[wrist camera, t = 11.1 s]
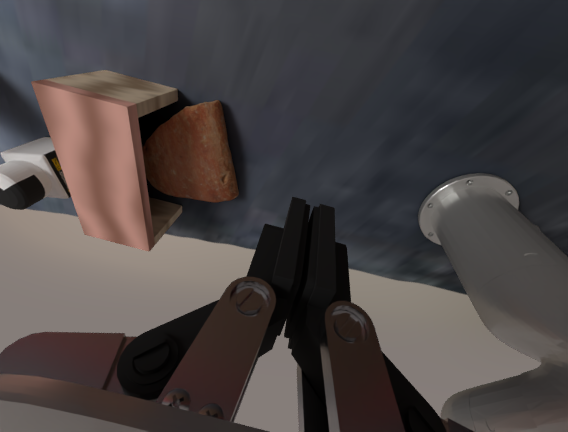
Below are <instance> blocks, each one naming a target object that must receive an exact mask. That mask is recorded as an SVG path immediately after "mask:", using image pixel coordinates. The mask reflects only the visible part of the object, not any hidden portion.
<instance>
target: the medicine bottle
mask: <svg viewBox="0 0 568 432" xmlns="http://www.w3.org/2000/svg"><path fill="white" fill-rule="evenodd" d="M1 156H2V157H3V159H4V160H5V162H6V163H4V164H2V165H0V204H2V205H4V206H6V207H9V208H12V209H20V210H22V209H26V208H27V207H29V206H31V205H33V204H34V203H36V202H38V201H40V200H41V199H43V198H45V197H54V198H65V199H66V198H69V197H71V194H70V191H69V188H68V185H67V183H66V180H65V177H64V174H63V171H62V168H61V165H60V163H59V160H58V157H57V154H56V151H55V148H54V145H53V143H52V140H51V137H43V138H40V139H37V140H34V141H31V142H29V143H26V144H23V145H20V146H17V147H15V148H12V149H9V150H6V151H3V152H1Z"/></svg>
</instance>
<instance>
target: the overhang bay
mask: <svg viewBox="0 0 568 432" xmlns="http://www.w3.org/2000/svg"><path fill="white" fill-rule="evenodd" d="M31 83H32V86H33V88H34V91H35V94H36V97H37V100H38V103H39V105H40V108H41V111H42V114H43V117H44V120H45V123H46V125H47V128H48V131H49V134H50V137H51V140H52V143H53V145H54V148H55V151H56V154H57V157H58V160H59V163H60V165H61V168H62V171H63V174H64V177H65V180H66V183H67V185H68V188H69V191H70V194H71V197H72V200H73V202H74V205H75V208H76V211H77V214H78V217H79V220H80V222H81V225H82V228H83V231H84V234H85V235H88V236H92V237H96V238H100V239H104V240H107V241H111V242H115V243H119V244H123V245H126V246H130V247H134V248H138V249H142V250H145V251H150V250H151V249H152V248H153V247H154V245H155V244H156V243H157V242H158V241H159V239H160V238H161V237H162V236H163V235H164V233H165V232H166V231H167V230H168V229H169V227H170V226H171V225H172V224H173V223H174V222H175V220H176V219H177V218H178V217H179V216H180V214H181V213H182V205H178V204H174V203H170V202H166V201H163V200H159V199H155V198H151V197H149V196H148V189H147V181H146V174H145V166H144V159H143V151H142V143H141V136H140V128H139V121H138V118H139V117H142V116H144V115H146V114H149V113H151V112H153V111H156V110H158V109H160V108H162V107H165V106H167V105H169V104H172V103H174V102H176V101H178V89H175V88H171V87H168V86H164V85H160V84H156V83H153V82H149V81H145V80H141V79H137V78H134V77H130V76H126V75H122V74H118V73H115V72H111V71H107V70H103V71H96V72H90V73H83V74H77V75H70V76H64V77H58V78H51V79H45V80H38V81H32V82H31Z"/></svg>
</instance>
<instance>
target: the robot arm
mask: <svg viewBox="0 0 568 432" xmlns="http://www.w3.org/2000/svg"><path fill="white" fill-rule="evenodd" d="M518 207H519V196H518V194H517V192H516V190H515V189H514V187H513V186H512V185H511V184H510V183H508V182H507V181H506V180H504V179H502V178H500V177H498V176H495V175H491V174H483V173H476V174H467V175H463V176H459V177H456V178H454V179H451V180H449V181H447V182H445V183H443V184H441V185H440V186H438V187H437V188H436V189H434V190H433V191H432V192H431V193H430V194H429V195H428V196H427V197H426V199H425V200H424V201H423V203H422V205H421V207H420V209H419V214H418V222H419V226H420V228H421V230H422V232H423V234H424V235H425V236H426V237H427V238H428V239H429V240H431V241H432V242H434V243H436V244H439V245H442V247H443V249H444V251H445V252H446V254H447V256H448V258H449V260H450V262H451V264H452V266H453V268H454V269H455V271H456V273H457V275H458V277H459V279H460V281H461V283H462V285H463V287H464V288H465V290H466V292H467V294H468V296H469V298H470V300H471V302H472V304H473V306H474V307H475V309H476V311H477V313H478V315H479V317H480V319H481V320H482V322H483V323H484V325H485V326H486V327H487V329H488V330H489V331H490V332H491V333H492V334H493V335H494V336H495V337H496V338H498V339H499V340H500V341H502V342H503V343H505V344H506V345H508V346H509V347H511V348H513V349H515V350H517V351H519V352H521V353H523V354H525V355H527V356H529V357H531V358H533V359H535V360H537V361H539V362H541V365H540V366H539V367H538V368H536V369H534V370H531V371H527V372H524V373H522V374H521V375H518V376H514V377H510V378H506V379H503V380H499V381H495V382H492V383H488V384H484V385H480V386H477V387H473V388H470V389H466V390H463V391H461V392H458V393H456V394H454V395H452V396H451V397H450V398H448V400H447V401H446V402H445V403H444V405H443V407H442V410H441V418H440V417H439V416H438V414H437V413H436V412H435V410H434V409H433V408H432V407H431V406H430V405H429V403H428V402H427V401H426V400H425V399H424V398H423V397H422V396H421V394H420V393H419V392H418V391H417V390H416V389H415V388H414V387H413V386H412V384H411V383H410V382H409V381H408V380H407V379H406V378H405V377H404V376H403V374H402V373H401V372H400V371H399V370H398V369H397V368H396V367H395V365H394V364H393V363H392V362H391V361H390V360H389V359H388V358H387V357H386V356H385V354H384V353H383V352H382V351H381V348H380V344H379V341H378V337H377V334H376V331H375V327H374V325H373V322H372V320H371V319H370V317H369V316H368V314H367V313H366V312H365V311H364V310H363V309H362V308H360V307H359V306H357V305H355V304H354V303H351V296H350V283H349V269H348V256H347V247H346V245H344V244H341V243H337V242H335V209H334V208H333V207H330V206H326V205H322V204H320V206H319V207H315V206H314V208H313V211H312V213H311V216H310V219H309V212H310V205H308V204H306V200H303V199H299V198H295V197H292V200H291V204H290V207H289V211H288V215H287V218H286V222H285V226H284V228H280V227H276V226H272V225H268V224H265V225H264V228H263V231H262V234H261V236H260V239H259V242H258V245H257V248H256V251H255V254H254V257H253V259H252V262H251V265H250V269H249V271H248V274H247V277H242V278H239V279H236V280H235V281H233V282H231V284H230V285H229V286H228V287H227V288H226V290H225V292H224V293H223V295H222V296H221V298H220V299H219V300H217V301H215V302H212V303H210V304H208V305H206V306H203V307H201V308H199V309H197V310H195V311H192V312H190V313H188V314H185V315H183V316H181V317H179V318H177V319H174V320H172V321H170V322H167V323H165V324H163V325H160V326H158V327H156V328H154V329H151V330H149V331H147V332H145V333H143V334H141V335H140V336H138V337H126V336H125V334H124V333H79V332H77V333H76V332H42V333H34V334H31V335H28V336H26V337H23V338H21V339H18V340H17V341H15V342H14V343H12V344H11V345H9V346H8V347H7V348H5V349H4V350H3V351H2V352H1V354H0V432H268V431H264V430H261V429H257V428H253V427H249V426H245V425H241V424H237V423H234V420H235V418H236V415H237V413H238V410H239V407H240V405H241V402H242V399H243V397H244V394H245V392H246V389H247V386H248V383H249V381H250V378H251V376H252V373H253V371H254V368H255V365H256V362H257V360H258V358H259V357H260V356H262V355H263V354H265V353H267V352H268V351H269V350H271V349H272V348H273V345H274V343H275V340H276V337H277V335H278V336H280V334H281V331H282V329H283V326H284V324H285V321H286V327H285V333H284V337H286V338H289V344H288V348H290V349H292V356H293V357H294V359H295V360H296V362H297V363H298V364H297V389H298V390H297V391H298V419H299V432H568V257H567V256H566V255H565V254H564V253H563V252H562V251H561V250H560V249H559V248H558V247H557V246H556V245H555V244H554V243H552V242H551V241H550V240H549V239H548V238H547V237H546V236H545V235H544V234H543V233H542V232H541V231H540V230H539V227H538V226H536V225H533V224H532V223H531V222H530V221H529V220H528V219H527V218H526V217H525V216H524V215H523V214H522V213H520V212H519V211H518ZM308 220H309V222H308ZM286 319H287V320H286Z"/></svg>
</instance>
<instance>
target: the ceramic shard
mask: <svg viewBox="0 0 568 432" xmlns="http://www.w3.org/2000/svg"><path fill="white" fill-rule="evenodd" d="M142 151H143V159H144V166H145V174H146V178H147V179H148V181H149V182H150V184H151V185H152V186H153V187H155V188H156V189H157V190H159V191H160V192H162V193H164V194H167V195H172V196H175V197H182V198H191V199H195V200H202V201H207V202H222V201H230V200H232V199H234V198H236V197H237V196H238V194H239V191H238V186H237V181H236V175H235V170H234V165H233V161H232V156H231V152H230V149H229V145H228V140H227V131H226V125H225V120H224V114H223V109H222V105H221V103H220V101H219V100H215V101H213V102H204V103H200V104H198V105H194V106H186V107H185V108H184V109H183V110H181V111H180V112H178V113H177V114H175V115H173V116H172V117H171V118H170V119H169V120H168V121H166V122H165V123H164V124H161V125H160V126H159V127H158V128H157V129H156V131H155V132H154V133H153V134H152V135H151V137H150V138H149V139H147V140H146V143H145V145H144V146H143V147H142Z"/></svg>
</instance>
